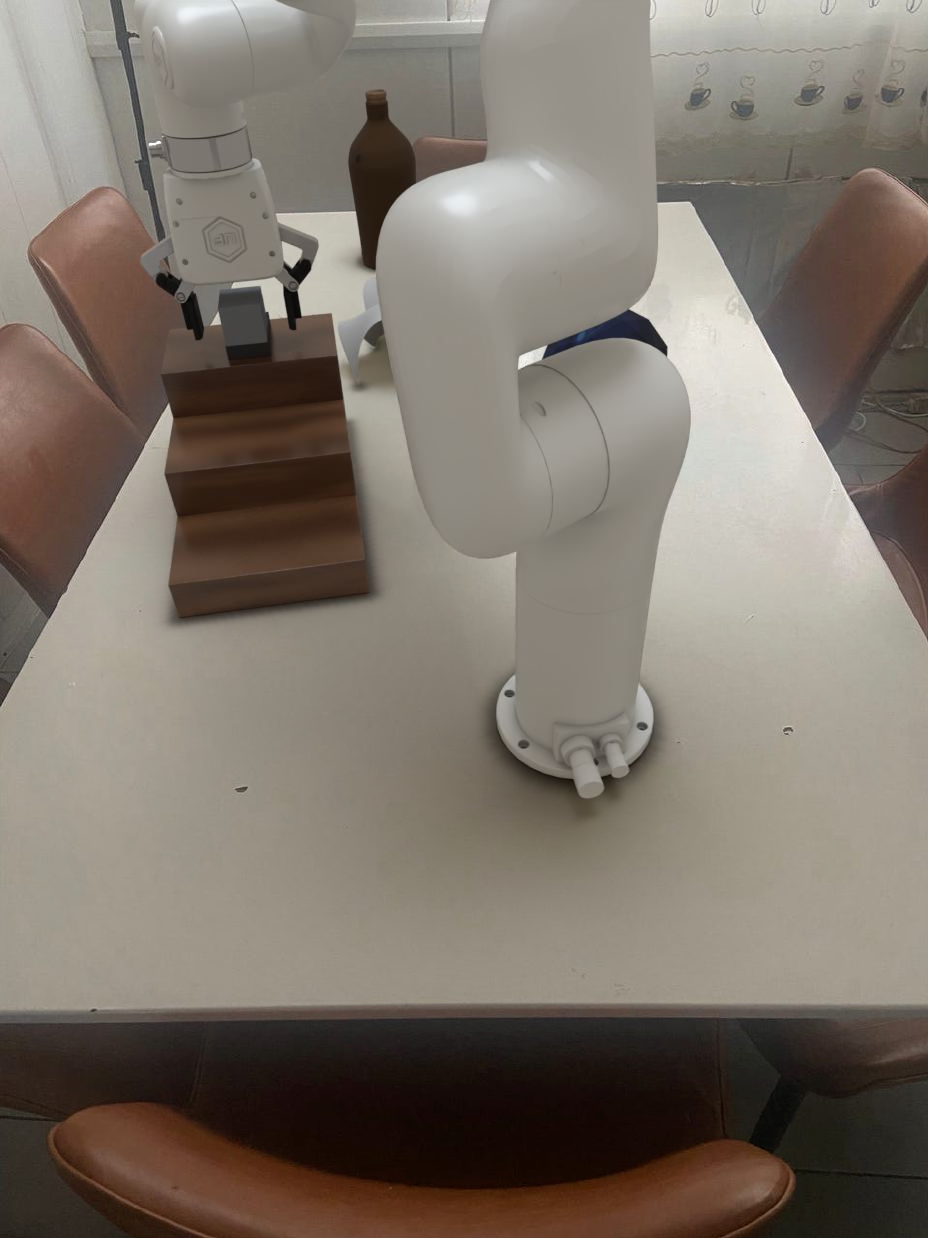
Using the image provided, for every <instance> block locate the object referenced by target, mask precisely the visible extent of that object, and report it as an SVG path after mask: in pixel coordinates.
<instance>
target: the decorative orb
mask: <svg viewBox="0 0 928 1238" xmlns="http://www.w3.org/2000/svg"><path fill="white" fill-rule="evenodd" d="M609 338H627V339H633V340H638V341H641V342H643V343H646V344H649V345H651V346H653V347H654V348H656V349H658V350H659V351H661V352H662V353H663V354H664V355H665V356H666V357H667V358H668V350H669V348H668V345H667V344H666V342H665V340H664V339H663V337H662V336H661V335H660V333H659V331H658V330H657V329H656V328H655V326H654V324H653V323H652V322H651V320H650V319H649V318H648V317H645V316H643V315H642V314H639V313H638V312H636V311H633V310H632V309H631V308H630V309H628V310H627V311H625V312H623V313H621V314H620V315H618V316H616V317H614V318H612V319H610V320H608V321H606V322H604V323H601V324H599V325H597V326H594V327H592V328H589V329H587V330H584V331H582V332H579V333H577V334H574V335H572V336H569V337H567V338H564V339H562V340H559V341H556V342H554V343H551V344H549V345H546V346H545V350H544V352H543V355H542V357H541V360H542V359H545V358H547V357H550V356H552V355H555V354H557V353H560V352H563V351H565V350H568V349H570V348H573V347H575V346H578V345H582V344H585V343H588V342H592V341H597V340H603V339H609Z"/></svg>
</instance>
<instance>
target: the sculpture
mask: <svg viewBox="0 0 928 1238" xmlns="http://www.w3.org/2000/svg"><path fill="white" fill-rule="evenodd" d="M362 297H363V305H364V308H365V311H363V312H362V313H360V314H358V315H357V316H355V317H352V318H350V319H347V320H344V321H339V322H338V323H337V333H338V337H339V340H340V343H341V347H342V349H343V352H344V354H345V358H346V360H347V362H348V364H349V366H350V369H351V372H352V374H353V376H354V379H355V380H356V383H357V385H358V386H360V382H359V371H358V367H359V366H358V365H359V356H360V355H359V354H360V350H361V346H362V343H363V341H364V340H365V342H367V343H368V345H370V346H372V347H376V346H377V343H378V341H379V339H380V338H381V337H382V336H385V333H384V329H383V324H382V319H381V312H380V306H379V300H378V294H377V285H376V277H371V278H369V279H367V280H366V281H365V282H364V284H363V290H362Z"/></svg>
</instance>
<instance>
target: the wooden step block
mask: <svg viewBox="0 0 928 1238" xmlns="http://www.w3.org/2000/svg"><path fill="white" fill-rule="evenodd" d="M333 319H334V318H333V313H332V312H328V313H327V312H326V313H319V314H318V313H317V314H310V315H309V314H308V315H302V318H298V319H296V329H297V330H291V329H289V324H288V318H287V317H281V318H278V317H277V318H270V323H271V356H264V357H254V358H245V359H236V360H228V356H227V352H226V347H225V346H226V343H225V339H224V334H223V330H222V325H221V323H220V324H212V325H211V324H210V325H204V333H203V339H201V340H197V341H196V340H195V336H194V332H193V329H192V330H187V327H181V328H173V329H172V328H171V329H169V330H168V336H167V340H166V345H165V346H166V347H165V350H164V356H163V361H162V365H161V371H160V377H161V380H162V384H163V387H164V391H165V395H166V398H167V402H168V405H169V409H170V412H171V416H172V423H171V424H172V425H171V428H170V429H171V430H170V436H169V442H168V448H167V454H166V461H165V467H164V474H163V475H164V477H165V481H166V484H167V488H168V490H169V494H170V498H171V501H172V504H173V507H174V511H175V515H176V525H175V530H174V531H175V532H174V539H173V547H172V555H171V563H170V570H169V578H168V589H169V592H170V594H171V597H172V600H173V603H174V606H175V610H176V612H177V615H178V618H186V617H193V616H201V615H208V614H209V615H210V614H215V613H223V612H231V611H238V610H239V611H240V610H246V609H253V608H261V607H268V606H276V605H282V604H283V605H284V604H291V603H298V602H305V601H312V600H313V601H314V600H322V599H328V598H336V597H337V598H338V597H344V596H350V595H358V594H365V593H370V583H369V575H368V569H367V561H366V555H365V546H364V538H363V531H362V523H361V518H360V517H361V516H360V509H359V501H358V494H357V486H356V478H355V472H354V464H353V457H352V449H351V441H350V435H349V427H348V420H347V419H348V418H347V413H346V406H345V398H344V391H343V384H342V377H341V370H340V362H339V361H340V360H339V355H338V349H337V348H338V347H337V341H336V334H335V326H334V320H333Z"/></svg>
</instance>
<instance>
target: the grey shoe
mask: <svg viewBox="0 0 928 1238" xmlns="http://www.w3.org/2000/svg"><path fill="white" fill-rule="evenodd" d="M218 293H219V295H218V302H217V303H218V304H217V312H218V316H219V320H220V321H219V322H220V324H221V325H222V330H223V334H224V339H225V343H226V346H225V347H226V352H227V356H228V360H236V359H245V358H254V357H264V356H271V323H270V319H271V318H270V313H269V311H266V307H265V301H264V296H263V291H262V287H261V285H253V286H245V287H244V286H243V287H234V288H223V289H222V288H221V289H219V292H218Z"/></svg>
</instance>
